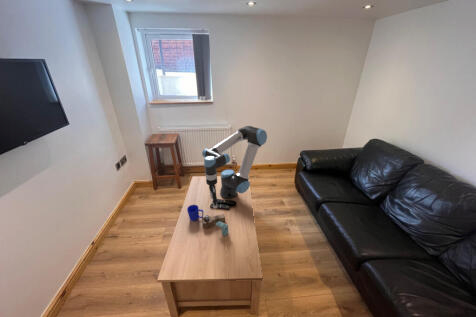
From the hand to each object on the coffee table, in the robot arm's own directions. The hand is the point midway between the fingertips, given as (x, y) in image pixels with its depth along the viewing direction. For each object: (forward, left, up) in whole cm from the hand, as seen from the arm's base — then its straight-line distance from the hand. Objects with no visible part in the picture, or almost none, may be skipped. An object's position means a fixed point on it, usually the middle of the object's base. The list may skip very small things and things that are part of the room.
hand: (213, 203), depth 142 cm
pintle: (+9, 0, -14) cm, 16 cm away
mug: (+9, -11, -14) cm, 20 cm away
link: (+5, +3, -14) cm, 15 cm away
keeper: (+9, +14, -14) cm, 21 cm away
